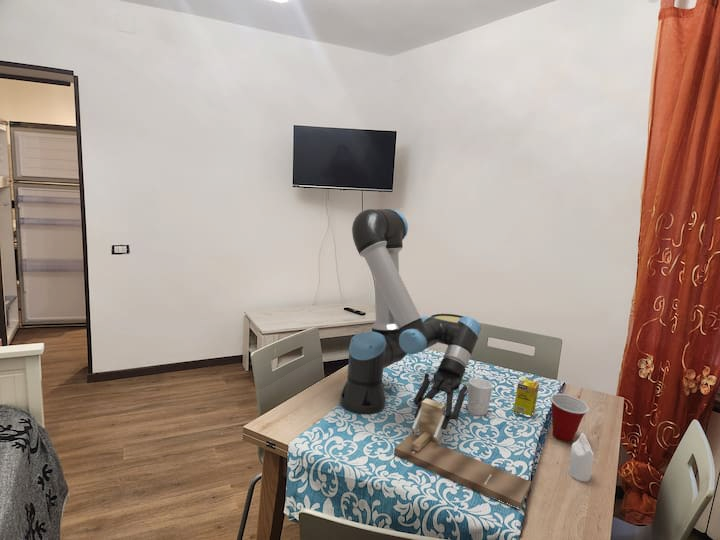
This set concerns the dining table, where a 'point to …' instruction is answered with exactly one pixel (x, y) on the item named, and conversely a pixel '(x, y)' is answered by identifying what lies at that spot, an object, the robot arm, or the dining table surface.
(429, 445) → the walnut board
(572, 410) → the plastic cup
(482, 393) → the white cup
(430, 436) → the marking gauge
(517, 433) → the dining table surface
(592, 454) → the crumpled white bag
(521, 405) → the supplement box
